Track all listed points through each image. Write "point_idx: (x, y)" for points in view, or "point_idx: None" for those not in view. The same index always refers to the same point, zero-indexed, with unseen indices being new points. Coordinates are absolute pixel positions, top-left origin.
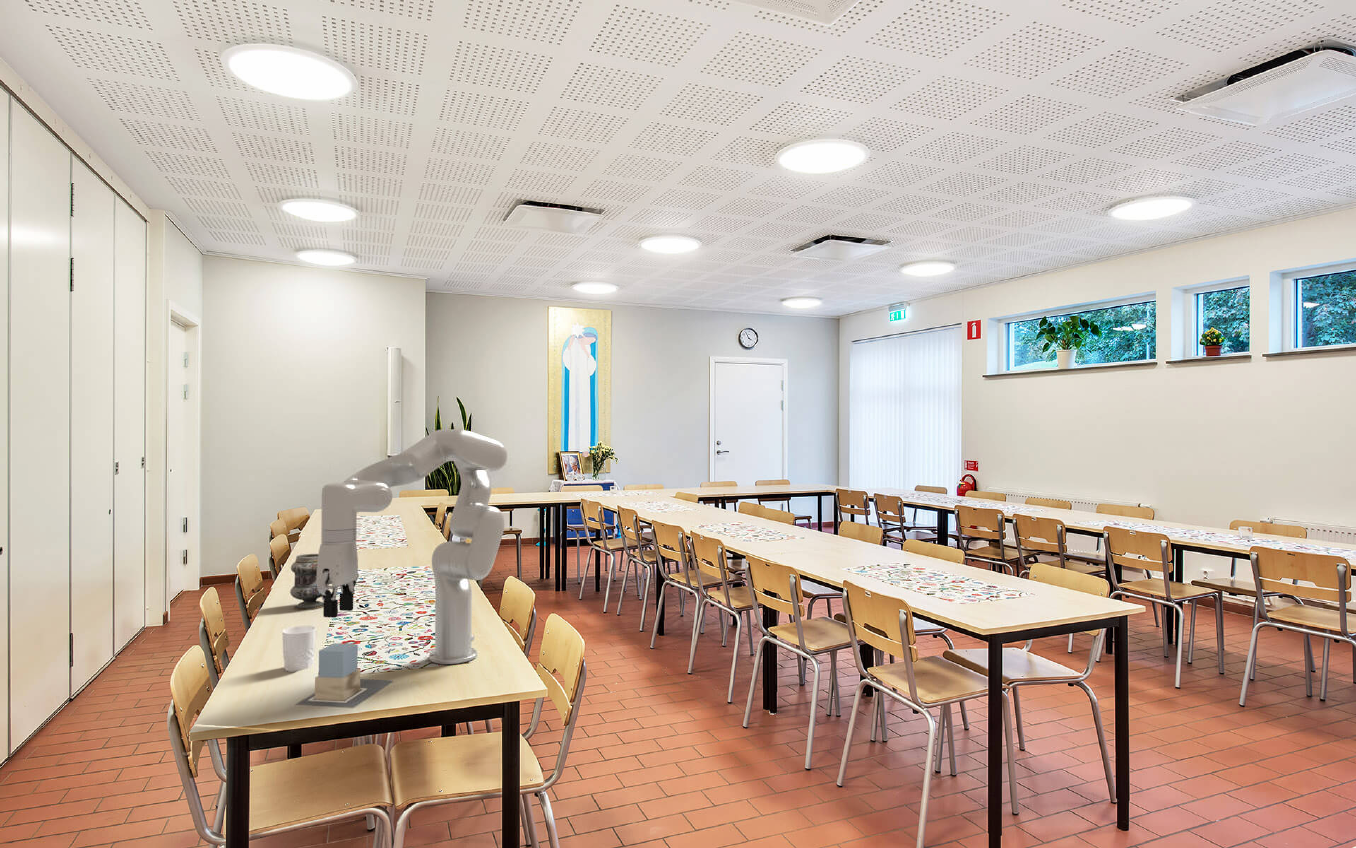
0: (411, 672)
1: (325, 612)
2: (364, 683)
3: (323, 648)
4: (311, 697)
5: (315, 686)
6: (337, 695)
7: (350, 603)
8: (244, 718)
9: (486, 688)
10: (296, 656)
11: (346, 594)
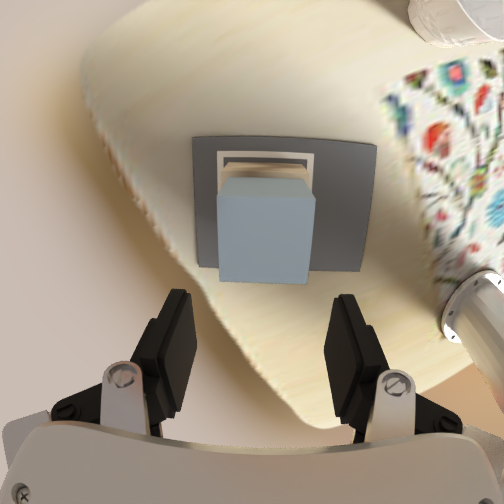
0: (414, 274)
1: (150, 323)
2: (343, 219)
3: (246, 196)
4: (238, 146)
5: (225, 167)
6: None
7: (329, 376)
8: (119, 85)
9: (320, 398)
10: (425, 14)
11: (348, 400)
